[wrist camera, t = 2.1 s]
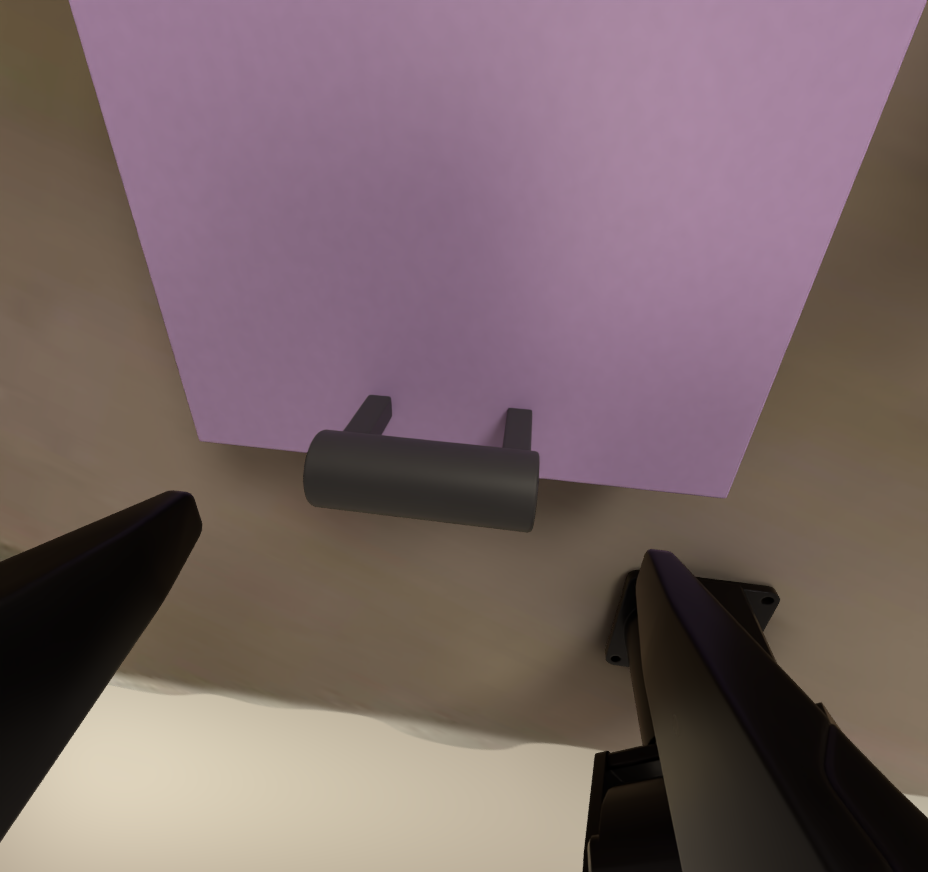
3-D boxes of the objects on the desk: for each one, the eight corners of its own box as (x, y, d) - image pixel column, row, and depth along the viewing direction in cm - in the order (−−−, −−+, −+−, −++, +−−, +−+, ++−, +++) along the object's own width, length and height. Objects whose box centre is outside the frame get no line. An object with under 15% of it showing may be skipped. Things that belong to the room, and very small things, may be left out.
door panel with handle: (720, 487, 14) (791, 620, 10) (209, 432, 16) (96, 529, 12) (1068, -408, 6) (1960, -1354, 2) (-5, -331, 8) (-553, -812, 4)
